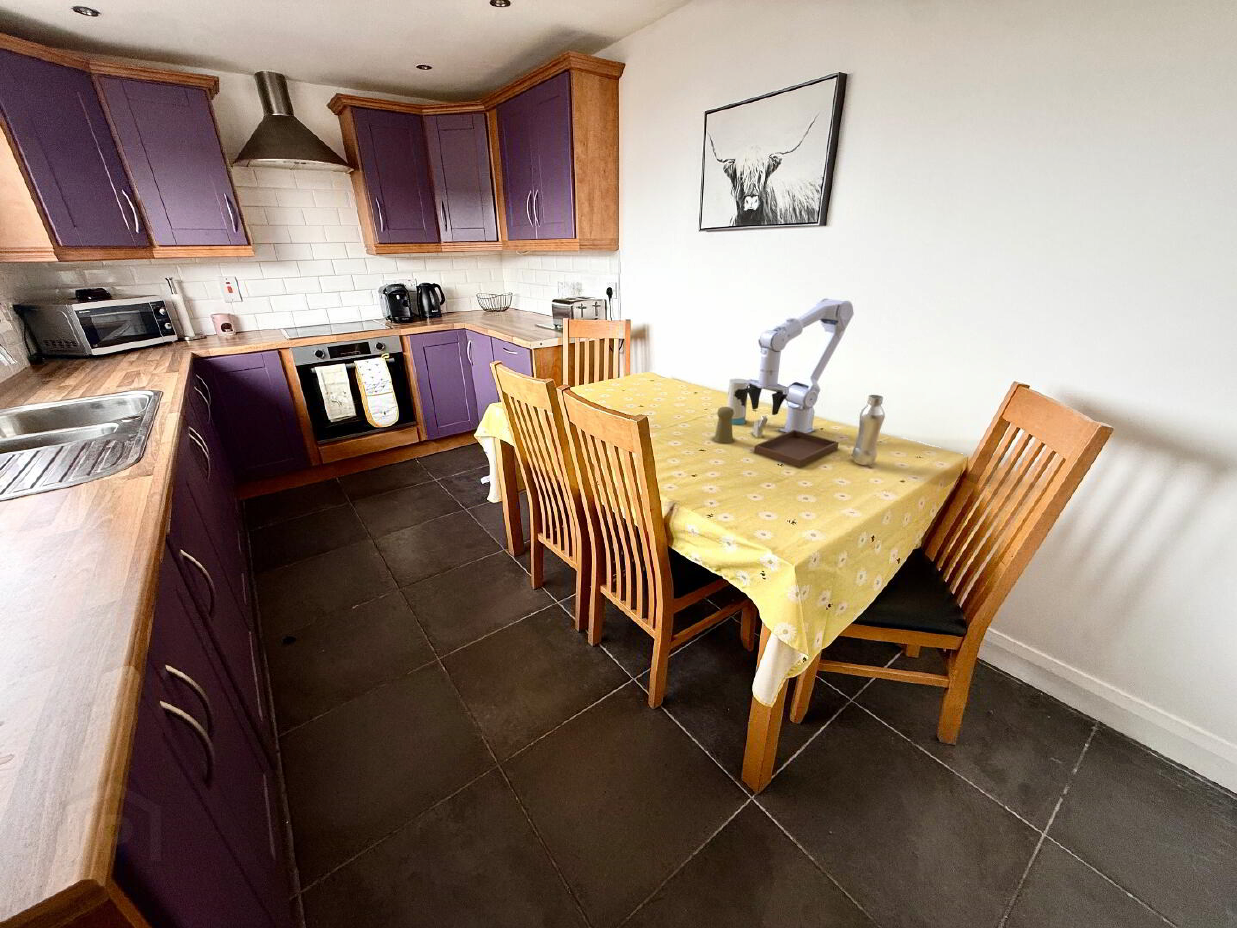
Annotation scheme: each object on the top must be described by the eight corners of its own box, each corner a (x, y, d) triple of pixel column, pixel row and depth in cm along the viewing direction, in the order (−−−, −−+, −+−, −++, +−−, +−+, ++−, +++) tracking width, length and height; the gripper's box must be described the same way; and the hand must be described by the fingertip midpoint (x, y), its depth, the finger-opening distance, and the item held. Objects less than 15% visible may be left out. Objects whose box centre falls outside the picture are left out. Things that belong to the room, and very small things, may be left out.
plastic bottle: (873, 460, 147) (887, 394, 139) (876, 469, 141) (890, 400, 133) (849, 457, 149) (861, 392, 141) (851, 466, 143) (864, 398, 135)
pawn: (731, 437, 166) (734, 405, 162) (733, 443, 161) (736, 410, 156) (713, 436, 167) (715, 404, 163) (714, 443, 161) (717, 410, 157)
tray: (792, 436, 166) (793, 429, 165) (837, 449, 155) (838, 442, 154) (753, 452, 154) (754, 445, 153) (799, 468, 143) (800, 460, 142)
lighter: (752, 433, 169) (755, 410, 166) (757, 433, 169) (760, 410, 166) (760, 440, 163) (762, 417, 160) (765, 440, 163) (767, 417, 160)
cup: (748, 423, 178) (752, 382, 172) (730, 425, 177) (734, 384, 171) (740, 418, 184) (743, 378, 178) (723, 419, 183) (726, 379, 177)
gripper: (742, 368, 159) (738, 409, 164) (782, 376, 149) (776, 419, 154) (755, 364, 163) (752, 404, 168) (795, 372, 153) (789, 414, 158)
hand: (764, 411), depth 162 cm, fingers open, 7 cm apart
